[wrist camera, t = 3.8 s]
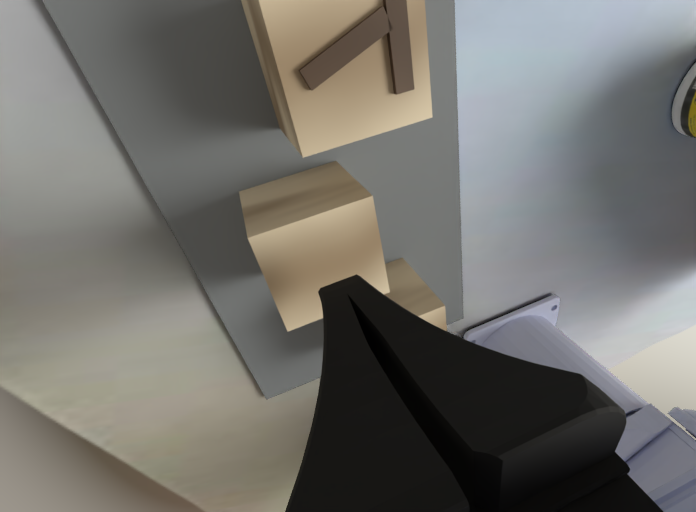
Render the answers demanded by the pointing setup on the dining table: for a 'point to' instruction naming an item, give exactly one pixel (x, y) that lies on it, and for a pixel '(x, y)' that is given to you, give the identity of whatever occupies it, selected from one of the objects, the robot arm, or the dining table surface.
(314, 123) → the block marked 7
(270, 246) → the blank block
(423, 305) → the block marked 1
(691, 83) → the supplement bottle
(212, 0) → the slate mat
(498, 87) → the dining table surface
